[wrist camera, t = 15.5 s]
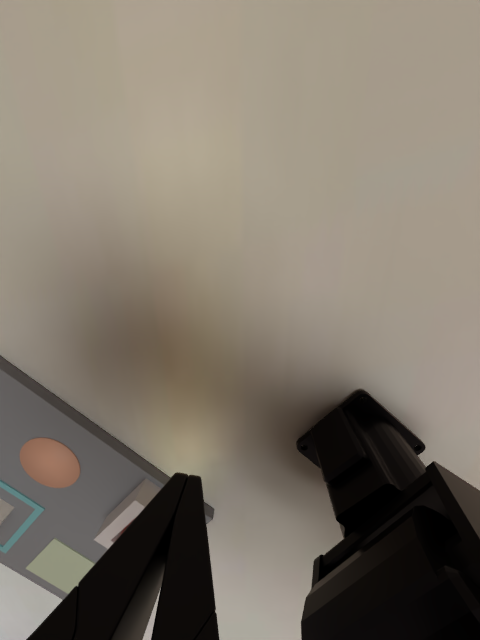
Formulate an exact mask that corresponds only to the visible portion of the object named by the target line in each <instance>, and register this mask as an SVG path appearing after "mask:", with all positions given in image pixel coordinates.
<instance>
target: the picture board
mask: <svg viewBox="0 0 480 640" xmlns="http://www.w3.org/2000/svg"><path fill="white" fill-rule="evenodd" d="M169 480H170V477H168V476H167V475H165V474H164V473H163V472H161V471H160V470H158V469H157V468H156V467H154V466H153V465H151V464H150V463H149V462H147V461H146V460H144V459H143V458H142V457H140V456H139V455H137V454H136V453H135V452H133V451H132V450H130V449H129V448H128V447H126V446H125V445H123V444H122V443H121V442H119V441H118V440H116V439H115V438H114V437H112V436H111V435H109V434H108V433H107V432H105V431H104V430H102V429H101V428H100V427H98V426H97V425H95V424H94V423H93V422H91V421H90V420H89V419H87V418H86V417H84V416H83V415H82V414H80V413H79V412H77V411H76V410H75V409H73V408H72V407H70V406H69V405H68V404H66V403H65V402H63V401H62V400H61V399H59V398H58V397H56V396H55V395H54V394H52V393H51V392H49V391H48V390H47V389H45V388H44V387H42V386H41V385H40V384H38V383H37V382H35V381H34V380H33V379H31V378H30V377H28V376H27V375H26V374H24V373H23V372H21V371H20V370H19V369H17V368H16V367H15V366H13V365H12V364H10V363H9V362H8V361H6V360H5V359H3V358H2V357H1V356H0V499H2V500H4V501H5V502H7V503H8V504H10V505H12V506H13V507H15V508H14V509H13V510H12V511H11V513H10V514H9V515H8V516H7V517H6V519H5V520H4V521H3V522H2V524H1V525H0V563H2V564H4V565H5V566H7V567H9V568H10V569H12V570H14V571H15V572H17V573H19V574H21V575H22V576H24V577H26V578H27V579H29V580H31V581H32V582H34V583H36V584H37V585H39V586H41V587H42V588H44V589H46V590H48V591H49V592H51V593H53V594H54V595H56V596H58V597H59V598H61V599H64V598H65V597H66V596H67V595H68V594H69V593H70V592H71V590H72V589H73V588H74V587H75V586H78V583H79V582H80V580H81V579H82V578H83V577H84V576H85V575H86V574H87V572H88V571H89V570H90V569H91V568H92V567H93V566H94V565H95V563H96V562H97V561H98V560H99V559H100V558H101V557H102V555H103V554H104V553H105V552H106V551H107V550H108V549H109V548H110V546H111V545H112V544H113V543H114V542H115V541H116V540H117V538H118V537H119V536H120V535H121V532H122V530H123V529H124V528H125V527H126V526H127V525H128V524H129V523H130V522H131V521H132V520H133V519H135V518H136V517H137V516H138V515H139V514H140V512H141V511H142V510H143V509H144V508H145V507H146V506H147V504H148V503H149V502H150V501H151V500H152V499H153V498H154V497H155V495H156V494H157V493H158V492H159V491H160V490H161V489H162V487H163V486H164V485H165V484H166V483H167V482H168V481H169ZM204 509H205V518H206V524H207V523H209V522H210V521H211V520H212V519H213V514H214V509H213V508H211V507H210V506H209V505H207V504H206V503H204Z"/></svg>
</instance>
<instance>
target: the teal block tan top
mask: <svg viewBox="0 0 480 640" xmlns="http://www.w3.org/2000/svg"><path fill="white" fill-rule="evenodd" d="M14 508H15V507H13V506H12V505H10V504H8V503H7V502H5V501H4V500H2V499H0V525H1V524H2V522H3V521H4V520H5V519H6V517H7V516H8V515H9V514H10V513H11V511H12V510H13V509H14Z"/></svg>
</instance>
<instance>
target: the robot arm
mask: <svg viewBox="0 0 480 640" xmlns="http://www.w3.org/2000/svg"><path fill="white" fill-rule="evenodd" d="M362 397H365V398H364V399H363V400H360V398H362ZM296 444H297V449H298V451H299V452H300V453H302V454H303V455H304V456H305V457H307V458H308V459H309V460H310V461H312V462H313V463H314V464H315V465H317V466H318V467H319V468H320V469H321V472H322V475H323V479H324V481H325V482H326V485H327V489H328V492H329V496H330V499H331V503H332V507H333V510H334V514H335V517H336V520H337V521H338V522H339V524H340V527H341V530H342V534H343V537H344V539H343V540H342V541H341V542H339V543H338V544H337V545H336V546H335V547H333V548H332V549H331V550H330V551H328V552H327V553H326V554H325V555H320V556H319V557H318V558H316V559H315V560H314V565H313V577H312V589H311V591H310V593H309V594H308V596H307V597H306V600H305V605H304V610H303V615H302V620H301V634H302V640H480V491H479V490H478V489H476V488H475V487H473V486H472V485H470V484H469V483H467V482H466V481H464V480H462V479H461V478H459V477H458V476H456V475H455V474H453V473H452V472H450V471H449V470H447V469H446V468H444V467H442V466H441V465H439V464H438V463H436V462H435V461H433V462H432V463H431V464H430V465H428V466H427V467H426V466H425V465H424V464H423V462H422V461H421V460H420V458H419V457H418V456H417V455H419V454H420V453H422V452H423V451H424V450H425V445H424V443H423V442H422V441H421V440H420V439H419V438H418V437H417V436H416V435H415V434H413V433H412V432H411V431H410V430H409V429H408V428H407V427H406V426H404V425H403V424H402V423H401V422H400V421H399V420H398V419H397V418H395V417H394V416H393V415H392V414H391V413H390V412H389V411H388V410H386V409H385V408H384V407H383V406H382V405H381V404H380V403H379V402H377V401H376V400H375V399H374V398H373V397H372V396H371V395H370V394H368V393H367V392H366V391H363V390H361V391H358V392H356V393H355V394H354V395H352V396H351V397H350V398H349V399H347V400H346V401H345V402H344V403H343V404H341V405H340V406H339V407H338V408H336V409H335V410H333V411H332V412H331V413H330V414H328V415H327V416H326V417H325V418H324V419H322V420H321V421H320V422H319V423H317V424H316V425H315V426H314V427H312V428H311V430H309V431H308V432H307V433H306V434H305V435H303V436H302V437H301V438H300V439H298V441H297V443H296ZM302 445H306V446H302ZM416 445H417V446H416ZM160 587H161V590H160ZM159 590H160V596H159V601H158V606H157V612H156V617H155V622H154V627H153V633H152V638H151V640H219V633H218V624H217V615H216V613H215V610H216V607H215V598H214V589H213V580H212V571H211V563H210V554H209V545H208V536H207V527H206V518H205V509H204V500H203V491H202V482H201V477H200V476H195V475H189V476H188V475H187V474H184V473H175V474H174V475H173V476H172V477H171V478H170V480H169V481H168V482H167V483H166V484H165V485H164V486H163V487H162V489H161V490H160V491H159V492H158V493H157V494H156V495H155V497H154V498H153V499H152V500H151V501H150V502H149V503H148V504H147V506H146V507H145V508H144V509H143V510H142V511H141V512H140V514H139V515H138V516H137V517H136V518H135V519H134V520H133V521H132V523H131V524H130V525H129V526H128V527H127V528H126V529H125V531H124V532H123V533H122V534H121V535H120V536H119V537H118V538H117V540H116V541H115V542H114V543H113V544H112V545H111V546H110V548H109V549H108V550H107V551H106V552H105V553H104V554H103V555H102V557H101V558H100V559H99V560H98V561H97V562H96V563H95V565H94V566H93V567H92V568H91V569H90V570H89V571H88V572H87V574H86V575H85V576H84V577H83V578H82V579H81V580H80V582H79V583H78V586H75V587H74V588H73V589H72V590H71V592H70V593H69V594H68V595H67V596H66V597H65V598H64V599H63V601H62V602H61V603H60V604H59V605H58V606H57V607H56V608H55V609H54V611H53V612H52V613H51V614H50V615H49V616H48V617H47V618H46V619H45V620H44V621H43V623H42V624H41V625H40V626H39V627H38V628H37V629H36V630H35V631H34V632H33V633H32V634H31V635H30V636H29V637H28V638H27V639H26V640H142V639H143V636H144V633H145V630H146V628H147V625H148V622H149V619H150V616H151V613H152V610H153V607H154V605H155V602H156V599H157V596H158V593H159Z"/></svg>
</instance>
